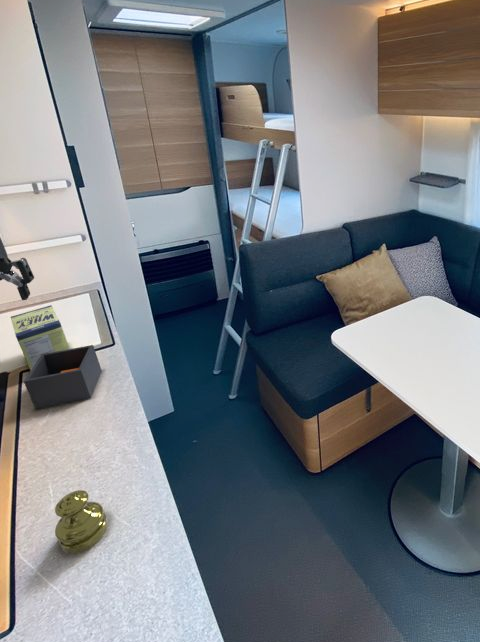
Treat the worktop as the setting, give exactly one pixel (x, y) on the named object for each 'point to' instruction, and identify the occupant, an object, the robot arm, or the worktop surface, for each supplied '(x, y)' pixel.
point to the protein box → (39, 333)
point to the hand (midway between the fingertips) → (4, 302)
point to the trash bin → (63, 377)
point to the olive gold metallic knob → (79, 522)
